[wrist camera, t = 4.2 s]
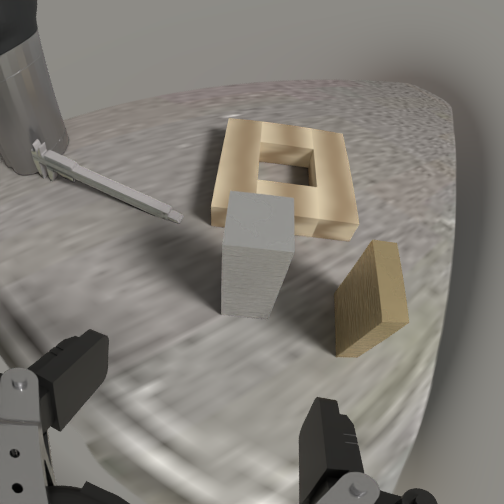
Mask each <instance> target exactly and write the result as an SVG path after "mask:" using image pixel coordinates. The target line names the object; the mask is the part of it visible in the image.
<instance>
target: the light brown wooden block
mask: <svg viewBox="0 0 504 504" xmlns="http://www.w3.org/2000/svg"><path fill="white" fill-rule="evenodd" d="M334 303H335V334H336V357H359V356H360V355H362V354H363V353H365V352H367V351H368V350H370V349H371V348H373V347H374V346H376V345H377V344H379V343H380V342H382V341H383V340H385V339H386V338H388V337H389V336H391V335H392V334H394V333H395V332H397V331H398V330H399V329H401V328H402V327H404V326H405V325H406V324H408V323H409V317H408V309H407V301H406V294H405V287H404V281H403V275H402V269H401V263H400V257H399V252H398V247H397V243H393V242H385V241H378V240H372V241H371V242H370V244H369V245H368V247H367V248H366V250H365V251H364V253H363V254H362V256H361V257H360V258H359V260H358V261H357V263H356V264H355V265H354V267H353V268H352V270H351V271H350V272H349V274H348V275H347V277H346V278H345V279H344V281H343V282H342V284H341V285H340V286H339V288H338V289H337V290H336V292H335V293H334Z"/></svg>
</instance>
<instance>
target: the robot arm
mask: <svg viewBox="0 0 504 504" xmlns="http://www.w3.org/2000/svg"><path fill="white" fill-rule="evenodd" d="M36 11H37V0H0V153H1V155H2V157H3V158H4V160H5V162H6V164H7V166H8V167H12V168H13V169H14V171H15V172H16V173H18V174H21V175H29V174H34V173H37V172H39V171H38V169H37V167H36V165H35V163H34V161H33V157H32V153H31V149H32V148H33V146H32V144H33V143H34V142H35V141H36V140H37V139H38V140H39V141H40V143H41V145H42V144H43V143H44V142H45V145H46V150H47V151H48V150H51V151H54V152H56V153H58V154H60V155H62V154H63V153H64V152H65V150H66V148H67V146H68V143H69V137H68V134H67V131H66V128H65V125H64V122H63V119H62V116H61V113H60V110H59V106H58V104H57V100H56V97H55V93H54V90H53V87H52V83H51V80H50V76H49V72H48V69H47V65H46V61H45V57H44V53H43V50H42V46H41V41H40V37H39V32H38V28H37V22H36ZM108 347H109V339H108V336H106V335H103V334H101V333H99V332H96V331H94V330H91V329H89V330H88V331H86V332H85V333H84V334H83V335H81V336H80V337H76V336H74V337H71V338H68V339H65V340H63V341H62V342H60V343H59V344H58V345H57V346H56V347H54V348H53V349H51V350H50V352H48V353H46V354H45V355H44V356H43V357H41V358H40V359H39V360H38V361H36V362H35V363H34V364H33V365H31V366H30V367H29V368H28V369H25V368H12V369H9V370H7V371H6V372H4V374H2V373H0V504H129V503H128V502H127V501H125V500H124V499H122V498H120V497H119V496H117V495H115V494H113V493H110V492H108V491H106V490H104V489H102V488H99V487H97V486H95V485H93V484H91V483H89V482H87V481H86V483H85V484H84V486H83V488H78V487H72V486H57V483H56V479H55V475H54V471H53V464H52V458H51V450H50V443H49V435H48V428H49V427H50V426H51V427H53V428H55V429H56V430H58V431H62V429H63V428H64V427H65V426H66V425H67V424H68V422H69V421H70V420H71V419H72V418H73V416H74V415H75V414H76V413H77V412H78V411H79V409H80V408H81V407H82V406H83V405H84V403H85V402H86V401H87V400H88V399H89V398H90V396H91V395H92V394H93V393H94V392H95V391H96V390H97V388H98V387H99V386H100V385H101V384H102V382H103V381H104V379H105V377H106V374H107V370H108ZM357 443H358V442H357V437H356V433H355V428H354V425H353V423H352V422H351V421H350V419H349V418H348V416H347V415H342V414H340V413H339V408H338V403H337V401H336V400H331V399H326V398H320V397H317V398H316V399H315V400H314V402H313V404H312V406H311V409H310V411H309V413H308V415H307V417H306V419H305V421H304V423H303V425H302V428H301V431H300V435H299V504H437V501H436V499H435V498H434V496H433V495H432V494H430V493H429V492H428V491H425V490H423V489H417V488H415V489H410V490H408V491H407V492H405V493H404V495H403V496H402V497H401V496H398V495H394V494H390V493H387V492H383V491H380V489H379V486H378V484H377V482H376V481H375V480H374V479H373V478H372V477H370V476H369V475H367V474H364V469H363V465H362V460H361V455H360V451H359V446H358V445H357Z"/></svg>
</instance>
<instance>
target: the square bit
mask: <svg viewBox="0 0 504 504" xmlns="http://www.w3.org/2000/svg"><path fill="white" fill-rule="evenodd" d="M294 252H295V246H294V198H291V197H283V196H274V195H266V194H257V193H248V192H239V191H230V195H229V202H228V209H227V215H226V222H225V229H224V236H223V243H222V286H221V315H227V316H237V317H247V318H257V319H268V318H269V316H270V314H271V311H272V309H273V306H274V304H275V301H276V299H277V296H278V293H279V291H280V288H281V286H282V283H283V281H284V278H285V276H286V273H287V271H288V268H289V265H290V263H291V260H292V258H293V255H294Z"/></svg>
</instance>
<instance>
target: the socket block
mask: <svg viewBox="0 0 504 504" xmlns="http://www.w3.org/2000/svg"><path fill="white" fill-rule="evenodd" d="M259 161H260V162H268V163H277V164H284V165H292V166H299V167H306V168H308V175H309V186H304V185H296V184H289V183H281V182H273V181H264V180H258V168H259ZM230 191H239V192H248V193H257V194H266V195H274V196H283V197H291V198H294V235H300V236H308V237H317V238H325V239H333V240H342V241H350V239H351V237H352V236H353V234H354V232H355V231H356V229H357V227H358V226H359V219H358V213H357V207H356V201H355V195H354V189H353V183H352V178H351V172H350V167H349V162H348V157H347V152H346V147H345V143H344V138H343V134H339V133H334V132H329V131H323V130H317V129H311V128H305V127H298V126H291V125H284V124H277V123H269V122H261V121H252V120H242V119H232V118H229V120H228V125H227V130H226V134H225V139H224V144H223V148H222V153H221V158H220V163H219V168H218V173H217V178H216V183H215V188H214V193H213V199H212V204H211V226H217V227H225V222H226V215H227V209H228V202H229V195H230Z"/></svg>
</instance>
